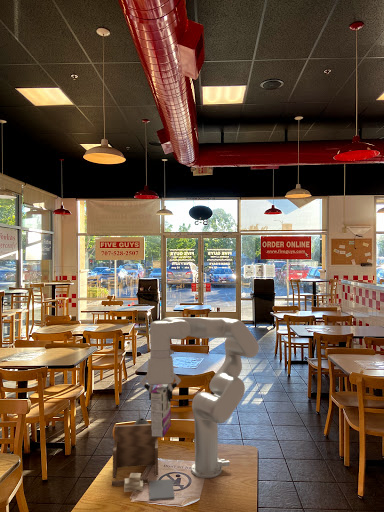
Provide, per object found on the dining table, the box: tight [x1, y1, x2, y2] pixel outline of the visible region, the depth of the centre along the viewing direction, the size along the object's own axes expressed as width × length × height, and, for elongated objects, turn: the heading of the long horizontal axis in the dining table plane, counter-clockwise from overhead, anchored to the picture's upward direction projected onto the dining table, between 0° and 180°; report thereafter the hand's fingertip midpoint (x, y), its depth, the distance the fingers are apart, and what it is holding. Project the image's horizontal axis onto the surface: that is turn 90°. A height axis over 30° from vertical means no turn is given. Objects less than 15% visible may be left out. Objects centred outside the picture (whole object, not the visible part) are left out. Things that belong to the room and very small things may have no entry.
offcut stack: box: [123, 472, 144, 493], centre depth 149 cm, size 7×4×5 cm, turn 96°
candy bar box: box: [150, 384, 172, 438], centre depth 149 cm, size 11×5×16 cm, turn 168°
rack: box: [111, 423, 159, 487], centre depth 160 cm, size 18×15×17 cm
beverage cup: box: [133, 408, 149, 425], centre depth 177 cm, size 7×7×20 cm
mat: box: [148, 478, 175, 501], centre depth 148 cm, size 9×12×1 cm
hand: (160, 400), depth 149 cm, fingers closed on candy bar box, 6 cm apart
